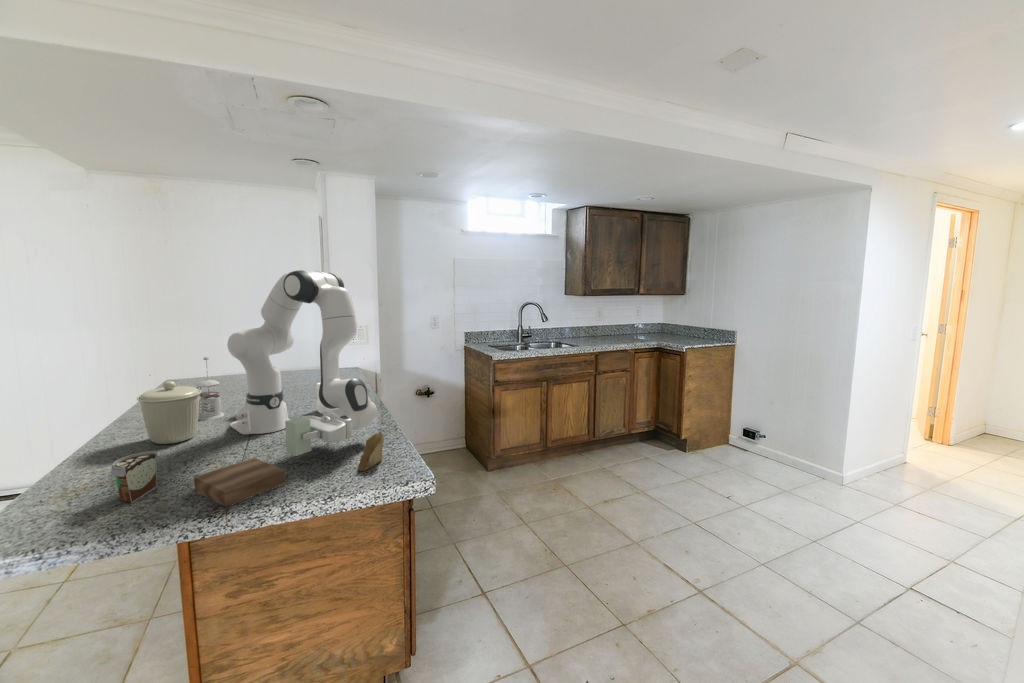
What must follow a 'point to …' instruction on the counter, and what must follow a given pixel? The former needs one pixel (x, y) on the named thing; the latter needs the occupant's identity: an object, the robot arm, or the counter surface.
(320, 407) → the white tapered cylinder
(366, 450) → the rock
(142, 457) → the food container
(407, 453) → the counter surface
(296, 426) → the sage block
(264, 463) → the walnut base
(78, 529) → the counter surface
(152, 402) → the canister
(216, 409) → the french press
